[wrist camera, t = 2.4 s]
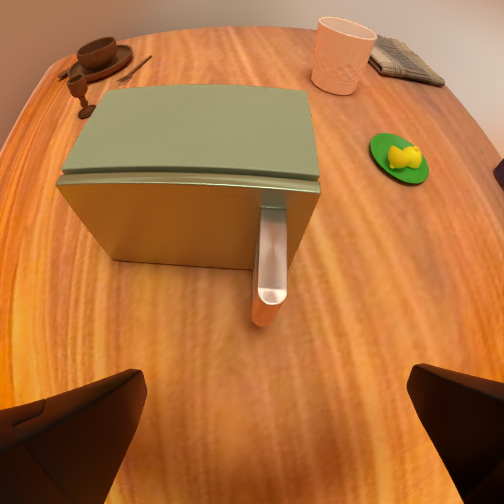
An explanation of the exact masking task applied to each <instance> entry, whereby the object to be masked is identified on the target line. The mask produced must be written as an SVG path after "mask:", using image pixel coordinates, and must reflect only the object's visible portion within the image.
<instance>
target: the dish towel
mask: <svg viewBox="0 0 504 504" xmlns="http://www.w3.org/2000/svg"><path fill="white" fill-rule="evenodd" d="M376 36H377V39H376V42H375V44H374V47H373V49H372V52H371V55H370V57H369V60H368V61H369V62H370V63H371V64H372V65H373V66H374V67H375V68H376V69H377V70H378V71H379V73H381V74H384V75H389V76H395V77H401V78H407V79H412V80H419V81H422V82H426V83H430V84H434V85H439V86H444V84H445V81H444V80H443V79H442V78H441V77H440V76H438V75H437V74H436V73H435V72H434V71H433V70H432V69H431V68H430V67H429V66H428V65H426V64H425V62H424V61H423V60H422V59H421V58H420V57H419V56H417V55H416V54H415V53H414V52H412V51H411V50H410V49H409V48H408V47H407V46H406V44H404V43H403V42H400V41H398V40H395V39H391V38H386V37H382V36H379V35H376Z"/></svg>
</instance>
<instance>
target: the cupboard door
mask: <svg viewBox="0 0 504 504" xmlns="http://www.w3.org/2000/svg"><path fill="white" fill-rule="evenodd" d="M56 187H57V188H58V189H59V191H60V192H61V194H62V195H63V197H64V198H65V199H66V201H67V202H68V204H69V205H70V206H71V208H72V209H73V210H74V212H75V213H76V214H77V216H78V217H79V218H80V220H81V221H82V222H83V224H84V225H85V226H86V228H87V229H88V230H89V231H90V233H91V234H92V235H93V237H94V238H95V239H96V240H97V242H98V243H99V244H100V245H101V247H102V248H103V249H104V250H105V251H106V253H107V254H108V255H109V256H110V257H111V259H112V260H122V261H135V262H147V263H161V264H174V265H188V266H202V267H217V268H233V269H249V270H253V287H252V309H251V318H252V320H253V322H254V323H255V324H256V325H258V326H262V327H263V326H268V325H269V324H271V322H272V321H273V319H274V318H275V316H276V314H277V312H278V311H279V309H280V307H281V305H282V304H283V302H284V300H285V298H286V296H287V271H288V269H289V267H290V265H291V263H292V260H293V258H294V256H295V253H296V251H297V249H298V247H299V244H300V242H301V240H302V237H303V235H304V233H305V230H306V228H307V226H308V223H309V221H310V219H311V216H312V214H313V211H314V209H315V207H316V204H317V202H318V199H319V197H320V195H321V188H320V182H318V181H309V180H299V179H289V178H277V177H265V176H251V175H235V174H215V173H187V172H112V173H85V174H67V175H60V176H59V179H58V181H57V183H56Z"/></svg>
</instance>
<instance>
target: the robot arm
mask: <svg viewBox="0 0 504 504" xmlns="http://www.w3.org/2000/svg"><path fill="white" fill-rule="evenodd" d="M407 391H408V394H409V396H410V398H411V401H412V403H413V405H414V408H415V410H416V412H417V415H418V417H419V419H420V421H421V423H422V425H423V426H424V428H425V430H426V432H427V434H428V435H429V437H430V439H431V441H432V443H433V444H434V446H435V448H436V450H437V452H438V454H439V456H440V457H441V459H442V461H443V463H444V465H445V467H446V469H447V471H448V473H449V475H450V477H451V478H452V480H453V482H454V484H455V486H456V488H457V490H458V493H459V495H460V497H461V499H462V501H463V503H464V504H504V383H501V382H497V381H492V380H488V379H484V378H479V377H475V376H471V375H467V374H463V373H459V372H455V371H451V370H447V369H443V368H439V367H436V366H432V365H428V364H424V363H422V364H416V365H414V366H413V368H412V370H411V373H410V376H409V379H408V381H407ZM146 397H147V387H146V383H145V379H144V375H143V372H142V371H141V370H138V369H128V370H125V371H123V372H120V373H118V374H115V375H112V376H110V377H107V378H104V379H101V380H99V381H96V382H93V383H90V384H88V385H85V386H82V387H79V388H76V389H73V390H70V391H67V392H64V393H61V394H58V395H55V396H52V397H49V398H47V399H42V400H39V401H35V402H32V403H28V404H25V405H21V406H17V407H12V408H8V409H3V410H0V504H104V502H105V500H106V498H107V495H108V493H109V491H110V488H111V486H112V484H113V481H114V479H115V477H116V474H117V472H118V470H119V468H120V465H121V463H122V461H123V459H124V456H125V454H126V452H127V450H128V447H129V445H130V443H131V441H132V439H133V436H134V434H135V432H136V429H137V427H138V424H139V420H140V417H141V414H142V410H143V407H144V404H145V400H146Z"/></svg>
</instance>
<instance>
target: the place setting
mask: <svg viewBox="0 0 504 504" xmlns="http://www.w3.org/2000/svg"><path fill="white" fill-rule="evenodd" d="M132 53H133V52H132V48H131V47H130V46H128V45H116V41H115V38H114V37H105V38H100V39H97V40H94V41H92V42H90V43H88V44H86V45H84V46H83V47H81V48H80V49H79V50H78V51H77V53H76V54H77V58H78V61H77V62H76V63H74V64H73V65H72V66H71V67H70V68H68V69H67V70H65V71H63V72H62V73H60V74H59V75H58V78H60V77H63V76H65V75H66V74H68V77H69V78H70V79H69V80H68V81H67V85H68V88H69V90H70V92H71V94H72V96H73V97H75V98H79V99H80V101H81V106H82V107H83V109H82V110H81V111H80V112H79V114H78V117H79V118H81V119H83V118H87V117H89V116H91V115H92V113H93V111H94V110H95V108H96V106H95V105H89V106H88V101H87V100H86V99H85V94H86V92H87V83H86V82H91V81H95V80H98V79H101V78H104V77H106V76H108V75H110V74H112V73H114V72H116V71H117V70H119V69H120V68H122V67H123V66H124V65H125V64H126V63H127V62H128V61H129V60H130V59H131V57H132ZM151 56H152V55H151ZM151 56H149V57H148V58H146V59H145V60H144V61H143V62H141V63H140V64H139V65H138V66H137V67H135V68H134V69H133V70H132V71H131V72H130V73H129V74H128V75H126V76H125V77H123V78H121V79H119V80H117V81H125V80H127V79H129V78H130V77H132V73H133V72H134V71H135V70H136V69H137V68H139V67H140V66H141V65H142V64H143V63H145V62H146V61H147V60H148V59H149V58H150V57H151Z"/></svg>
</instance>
